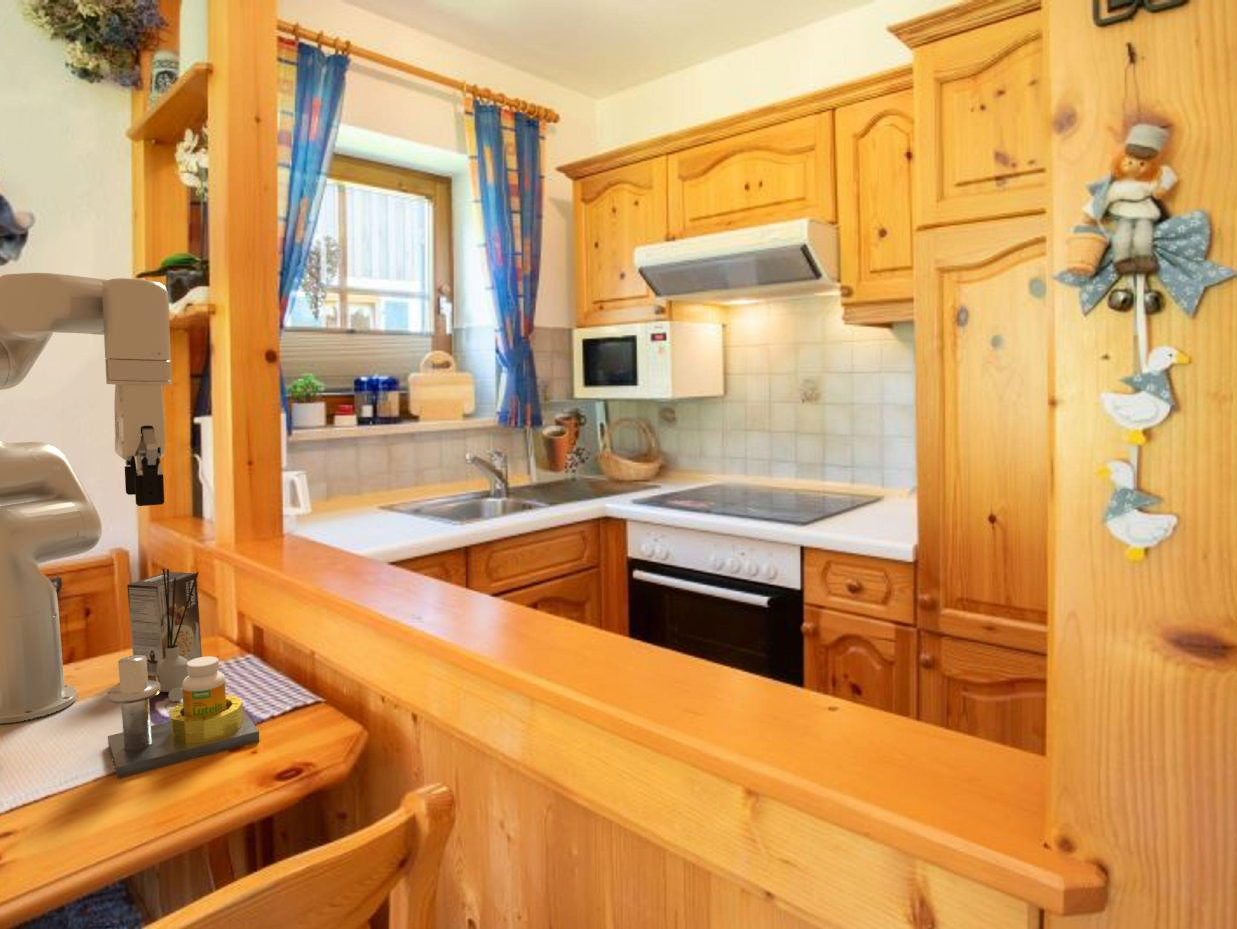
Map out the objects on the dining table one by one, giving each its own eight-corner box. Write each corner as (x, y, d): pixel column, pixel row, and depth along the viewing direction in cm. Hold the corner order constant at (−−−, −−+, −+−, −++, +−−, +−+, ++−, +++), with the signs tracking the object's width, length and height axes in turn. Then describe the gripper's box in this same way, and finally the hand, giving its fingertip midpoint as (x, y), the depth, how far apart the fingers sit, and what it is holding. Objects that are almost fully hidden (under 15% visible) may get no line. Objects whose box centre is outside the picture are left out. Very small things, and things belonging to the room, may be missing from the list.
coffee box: (172, 656, 144) (167, 570, 142) (203, 659, 142) (198, 572, 141) (132, 675, 135) (126, 583, 133) (164, 678, 133) (158, 586, 132)
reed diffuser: (151, 686, 130) (144, 567, 128) (197, 676, 134) (191, 561, 132) (164, 706, 122) (156, 580, 120) (212, 694, 127) (206, 573, 124)
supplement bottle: (190, 739, 108) (186, 671, 107) (180, 726, 112) (176, 660, 111) (232, 727, 112) (229, 661, 111) (221, 715, 116) (217, 651, 115)
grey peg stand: (117, 778, 101) (110, 677, 99) (108, 746, 109) (101, 652, 108) (259, 741, 111) (254, 648, 109) (240, 714, 120) (236, 628, 118)
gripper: (98, 371, 110) (104, 492, 112) (114, 375, 96) (120, 512, 99) (160, 372, 115) (164, 488, 117) (183, 376, 101) (187, 507, 103)
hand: (144, 499), depth 108 cm, fingers open, 9 cm apart
